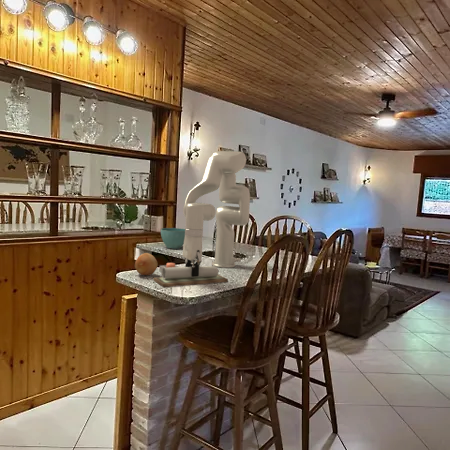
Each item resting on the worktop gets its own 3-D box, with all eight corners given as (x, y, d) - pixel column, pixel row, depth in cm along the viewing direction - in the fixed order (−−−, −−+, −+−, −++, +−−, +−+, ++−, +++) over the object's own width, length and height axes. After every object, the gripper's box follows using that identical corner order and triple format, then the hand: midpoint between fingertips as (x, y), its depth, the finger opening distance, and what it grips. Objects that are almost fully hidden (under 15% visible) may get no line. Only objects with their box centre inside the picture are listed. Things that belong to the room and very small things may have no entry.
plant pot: (155, 248, 241) (156, 229, 240) (166, 244, 259) (166, 227, 258) (182, 251, 237) (183, 231, 236) (191, 247, 255) (192, 229, 254)
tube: (214, 266, 171) (161, 267, 160) (220, 264, 167) (165, 266, 155) (215, 278, 170) (162, 280, 159) (221, 276, 165) (166, 279, 154)
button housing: (174, 269, 183) (175, 264, 183) (181, 273, 176) (182, 268, 176) (159, 270, 179) (159, 265, 179) (165, 274, 172) (165, 269, 172)
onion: (158, 277, 165) (159, 255, 164) (134, 278, 163) (135, 255, 162) (156, 272, 174) (157, 251, 174) (134, 272, 172) (134, 251, 171)
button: (172, 268, 180) (173, 262, 180) (176, 270, 177) (176, 264, 177) (164, 269, 178) (165, 263, 178) (168, 271, 175) (168, 264, 175)
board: (215, 276, 175) (215, 273, 175) (227, 281, 166) (227, 278, 166) (153, 280, 160) (153, 277, 160) (163, 287, 151) (163, 283, 150)
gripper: (177, 230, 166) (175, 270, 168) (194, 235, 152) (192, 280, 154) (193, 230, 170) (191, 269, 172) (211, 235, 156) (208, 278, 157)
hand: (191, 274), depth 163 cm, fingers open, 5 cm apart
